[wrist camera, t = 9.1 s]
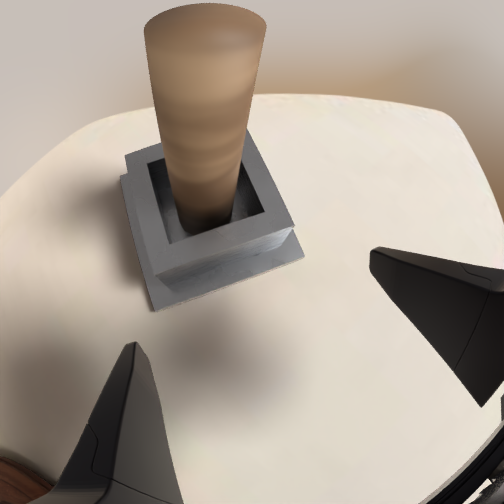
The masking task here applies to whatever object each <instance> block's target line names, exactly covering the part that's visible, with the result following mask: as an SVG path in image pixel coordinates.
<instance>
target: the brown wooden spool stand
mask: <svg viewBox="0 0 504 504" xmlns="http://www.w3.org/2000/svg"><path fill="white" fill-rule="evenodd" d="M54 487H55V486H53V487H52V486H51V485H50V484H49V483H47V482H46V481H45V480H43V479H42V478H41V477H39V476H38V475H36V474H35V473H33V472H32V471H30V470H29V469H27V468H26V467H24V466H22V465H21V464H19V463H17V462H15V461H13V460H10V459H8V458H5V457H1V456H0V504H27V503H29V502H32V501H34V500H36V499H38V498H40V497H42V496H44V495H46V494H47V493H49V492H50V491H51V490H52V489H53V488H54Z"/></svg>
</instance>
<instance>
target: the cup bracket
mask: <svg viewBox="0 0 504 504" xmlns="http://www.w3.org/2000/svg"><path fill="white" fill-rule="evenodd" d="M125 160H126V165H127V170H128V173H127V174H124V175H122V176H120V180H121V185H122V190H123V195H124V200H125V205H126V209H127V214H128V218H129V222H130V227H131V231H132V235H133V239H134V243H135V247H136V250H137V254H138V258H139V261H140V265H141V268H142V272H143V275H144V279H145V282H146V285H147V289H148V292H149V295H150V298H151V301H152V304H153V307H154V310H155V312H159V311H162V310H165V309H167V308H170V307H173V306H176V305H179V304H182V303H184V302H187V301H190V300H193V299H196V298H198V297H201V296H204V295H207V294H209V293H212V292H215V291H218V290H220V289H223V288H226V287H229V286H231V285H234V284H237V283H239V282H242V281H245V280H248V279H250V278H253V277H256V276H258V275H261V274H264V273H266V272H269V271H271V270H274V269H277V268H279V267H282V266H285V265H287V264H290V263H292V262H295V261H298V260H300V259H303V258H304V257H305V255H304V253H303V251H302V248H301V246H300V244H299V242H298V239H297V237H296V235H295V233H294V231H293V227H294V226H295V225H294V223H293V221H292V218H291V216H290V214H289V212H288V210H287V208H286V206H285V204H284V201H283V199H282V197H281V195H280V193H279V191H278V189H277V187H276V185H275V183H274V181H273V179H272V177H271V175H270V173H269V171H268V169H267V167H266V165H265V163H264V161H263V159H262V157H261V155H260V153H259V151H258V149H257V147H256V145H255V143H254V141H253V139H252V137H251V135H250V133H249V131H248V130H247V129H246V134H245V140H244V145H243V151H242V157H241V162H240V168H239V174H238V180H237V186H236V192H235V198H234V204H233V210H232V216H231V220H230V223H229V224H227V225H224V226H221V227H218V228H215V229H212V230H209V231H206V232H203V233H201V234H198V235H195V236H193V235H191V234H190V233H188V232H187V231H186V230H185V229H184V228H183V227H182V225H181V224H180V221H179V218H178V214H177V210H176V206H175V202H174V197H173V193H172V189H171V184H170V180H169V176H168V171H167V167H166V162H165V157H164V152H163V148H162V143H158V144H155V145H152V146H149V147H147V148H144V149H141V150H138V151H135V152H132V153H130V154H127V155H125Z"/></svg>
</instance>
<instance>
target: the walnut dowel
mask: <svg viewBox="0 0 504 504" xmlns="http://www.w3.org/2000/svg"><path fill="white" fill-rule="evenodd" d="M265 32H266V23H265V21H264V20H263V18H261V17H260V16H259V15H257V14H256V13H254V12H252V11H250V10H247V9H245V8H241V7H237V6H233V5H227V4H217V3H201V4H191V5H185V6H180V7H176V8H172V9H169V10H167V11H164V12H162V13H160V14H158V15H156V16H155V17H153V18H152V19H150V20H149V21H148V22H147V24H146V25H145V27H144V37H145V45H146V52H147V60H148V67H149V74H150V81H151V87H152V93H153V99H154V105H155V111H156V116H157V122H158V127H159V132H160V138H161V143H162V148H163V152H164V157H165V162H166V167H167V171H168V176H169V180H170V184H171V189H172V193H173V197H174V202H175V206H176V210H177V214H178V218H179V221H180V224H181V225H182V227H183V228H184V229H185V230H186V231H187V232H188V233H190V234H191V235H193V236H195V235H198V234H201V233H203V232H206V231H209V230H212V229H215V228H218V227H221V226H224V225H227V224H229V223H230V220H231V216H232V210H233V204H234V198H235V192H236V186H237V180H238V174H239V168H240V162H241V157H242V151H243V145H244V140H245V134H246V129H247V123H248V118H249V112H250V107H251V102H252V96H253V91H254V86H255V81H256V76H257V71H258V66H259V61H260V56H261V51H262V46H263V41H264V37H265Z"/></svg>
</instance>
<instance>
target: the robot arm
mask: <svg viewBox="0 0 504 504" xmlns="http://www.w3.org/2000/svg"><path fill="white" fill-rule="evenodd" d="M369 269H370V272H371V274H372V275H373V276H374V278H375V279H376V280H377V282H378V283H379V284H380V285H381V287H382V288H383V289H384V291H385V292H386V293H387V295H388V296H389V297H390V299H391V300H392V301H393V302H394V303H395V304H396V306H397V307H398V308H399V309H400V310H401V311H402V312H403V313H404V314H405V315H406V317H407V318H408V319H409V320H410V321H411V322H412V323H413V324H414V326H415V327H416V328H417V329H418V330H419V331H420V332H421V334H422V335H423V336H424V337H425V338H426V339H427V341H428V342H429V343H430V344H431V345H432V346H433V348H434V349H435V350H436V351H437V352H438V354H439V355H440V356H441V357H442V358H443V360H444V361H445V362H446V363H447V365H448V366H449V367H450V368H451V370H452V371H454V373H455V375H456V376H457V377H458V379H459V380H460V381H461V382H462V384H463V385H464V386H465V388H466V389H467V390H468V391H469V393H470V394H471V395H472V397H473V398H474V399H475V401H476V402H477V404H478V405H479V406H480V407H481V408H482V407H483V406H484V405H485V403H486V402H487V401H488V400H489V399H490V397H491V396H492V395H493V394H494V393H495V391H496V390H497V389H498V387H499V386H500V385H501V384H502V382H503V381H504V270H503V269H496V268H489V267H483V266H477V265H472V264H467V263H462V262H457V261H452V260H447V259H442V258H437V257H432V256H427V255H422V254H417V253H412V252H407V251H401V250H396V249H391V248H385V247H377V248H374V249H372V250H371V251H370V263H369ZM501 419H502V422H501V423H500V425H499V426H498V427H497V429H496V430H495V431H494V432H493V433H492V435H491V436H490V437H489V438H488V439H487V440H486V442H485V443H484V444H483V445H482V446H481V447H480V448H479V449H478V451H477V452H476V453H475V454H474V455H473V456H472V457H471V458H470V459H469V460H468V461H467V462H466V463H465V464H464V465H463V466H462V467H461V468H460V469H459V470H458V471H457V472H456V473H455V474H454V475H453V476H451V477H450V478H449V479H448V480H447V481H446V482H445V483H444V484H442V485H441V486H440V487H439V488H438V489H437V490H435V491H434V492H433V493H432V494H431V495H429V496H428V497H427V498H425V499H424V500H423V501H422V502H420V503H419V504H463V503H464V502H465V501H466V500H467V499H468V498H469V497H470V496H471V495H472V494H473V493H474V492H475V491H476V490H477V489H478V488H479V487H480V486H481V485H482V484H483V483H484V481H485V480H486V479H487V478H488V479H489V480H490V481H491V483H492V484H490V485H489V486H488V487H486V488H485V489H483V490H482V491H481V492H480V493H479V494H480V495H479V496H478V497H477V498H476V500H474V501H473V502H471V503H469V504H504V394H503V395H502V397H501ZM27 504H184V503H183V500H182V496H181V493H180V489H179V486H178V482H177V478H176V474H175V470H174V466H173V462H172V458H171V454H170V450H169V445H168V440H167V436H166V431H165V426H164V420H163V415H162V409H161V404H160V399H159V395H158V392H157V388H156V385H155V381H154V377H153V373H152V370H151V366H150V362H149V359H148V357H147V356H146V354H145V353H144V351H143V350H142V348H141V347H140V345H139V344H138V343H137V342H132V343H129V344H126V345H125V346H124V348H123V350H122V352H121V354H120V356H119V358H118V360H117V362H116V364H115V366H114V368H113V370H112V371H111V373H110V375H109V378H108V380H107V382H106V384H105V386H104V388H103V390H102V392H101V394H100V396H99V398H98V400H97V402H96V404H95V407H94V409H93V411H92V413H91V415H90V418H89V420H88V423H87V424H86V426H85V429H84V431H83V433H82V435H81V437H80V439H79V442H78V444H77V446H76V448H75V450H74V452H73V454H72V456H71V457H70V459H69V461H68V463H67V465H66V467H65V469H64V471H63V472H62V474H61V476H60V478H59V480H58V482H57V484H56V485H55V487H54V488H53V489H52V490H51V491H50V492H49V493H47V494H46V495H44V496H42V497H40V498H38V499H36V500H34V501H32V502H29V503H27Z"/></svg>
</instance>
